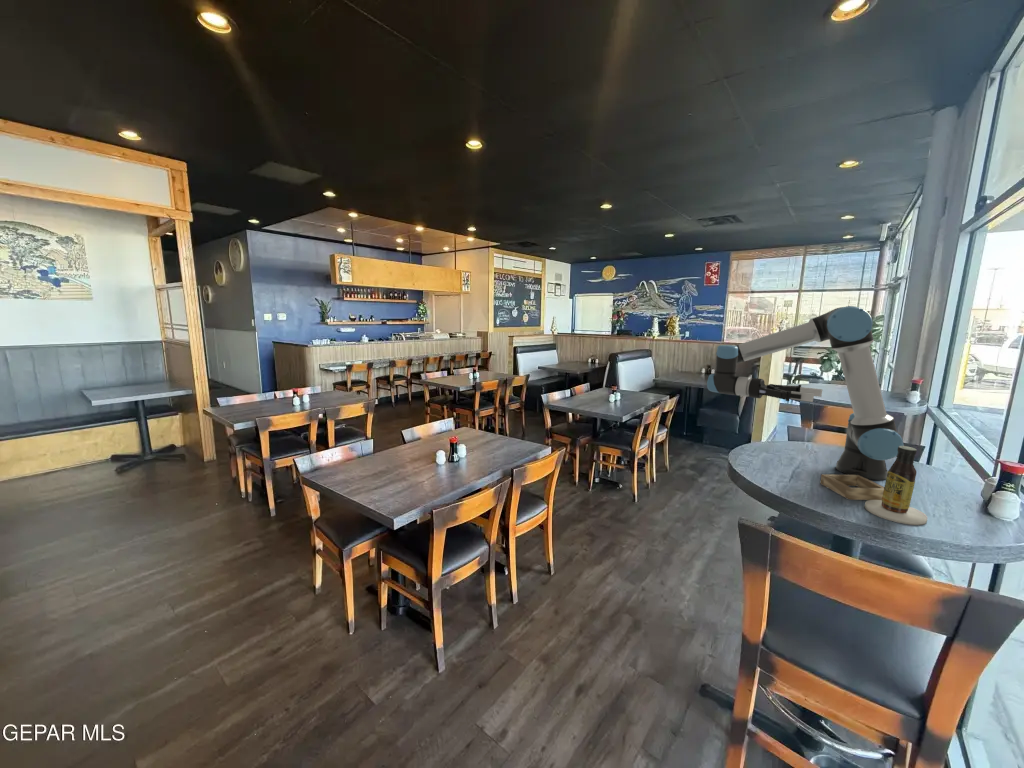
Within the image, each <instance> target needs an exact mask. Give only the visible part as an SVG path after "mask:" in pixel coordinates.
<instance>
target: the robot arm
mask: <svg viewBox="0 0 1024 768" xmlns="http://www.w3.org/2000/svg"><path fill="white" fill-rule="evenodd" d="M872 328H873V318H872V316H871V315H870V313H869V312H868V311H866V310H865V309H863V308H862V307H858V306H856V305H855V306H854V305H846V306H841V307H835V308H834V309H832V310H830V311H828V312H825V313H823V314H821V315H818V316H816V317H813V318H810V319H809V320H808V322H805V323H802V324H799V325H796V326H793V327H789V328H786V329H784V330H780V331H777V332H774V333H771V334H768V335H764V336H761V337H759V338H758V337H757V338H755V339H752V340H749V341H748V340H747V341H745V342H743V343H739V344H737V345H731V344H730V345H729V344H727V345H726V344H723V345H722V344H720V345H718V346H717V348H716V353H715V355H716V357H715V370H714V373H711V374H709V375H708V378H707V382H706V387H707V390H708V391H710V392H712V393H718V394H721V395H722V394H724V395H732V396H739V397H740V398H743V397H749V398H753V399H761V398H762V397H763V396H766V397H770V398H775V399H780V400H785V401H786V402H789V401H790V400H792V401H801V402H811V403H813V402H814V399H815V397H818V398H822V395H823V389H822V388H814V387H805V386H802V385H801V384H798V385H788V384H787V385H783V384H773V383H768V384H767V385H766V384H765V380H764V379H763V378H755V377H753V378H752V377H748V376H737V365H738V364H741V363H744V362H746V361H747V362H748V361H751V360H754V359H757V358H761V357H764V356H767V355H771V354H774V353H778V352H781V351H784V350H788V349H792V348H795V347H798V346H802V345H805V344H809V343H812V342H817V343H822V342H825V341H829V343H830V348H831V350H833V351H835V352H837V353H838V356H839V360H840V365H841V369H842V373H843V376H844V380H845V384H846V389H847V391H848V396H849V400H850V404H851V408H852V411H853V413H850V415H849V418H848V419H847V430H846V434H845V435H846V436H845V442H844V444H845V445H844V449H843V451H842V453H841V455H840V457H839V459H838V460H837V462H836V465H835V469H836V470H838V471H839V472H840V473H842V474H844V475H860V476H862V477H864V478H866V479H868V480H871V481H874V480H876V481H879V480H880V481H881V480H886V478H887V473H888V471H889V470H888V468H887V463H886V461H889V460H891V459H892V460H893V459H894V458H897V454H898V447H899V446H905V445H904V439H903V438H902V436H901V434H899V433H898V429H897V426H896V422H895V418H894V416H892V415H890V414H888V413H887V410H886V407H885V402H884V399H883V398H884V397H883V395H882V389H881V387H880V382H879V379H878V375H877V370H876V367H875V364H874V360H873V356H872V355H873V354H872V351H871V347H870V346H871V345H872V343H874V341H875V338H874V336H873V331H872Z"/></svg>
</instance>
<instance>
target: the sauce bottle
mask: <svg viewBox="0 0 1024 768" xmlns="http://www.w3.org/2000/svg"><path fill="white" fill-rule="evenodd" d="M917 453H918V452H917V449H916V448H915V447H912V446H911V447H910V446H906V445H903V446H899V447H898V454H897V456H896V457H895V460H894V461H893V463H892V465H891V466H890V467H889V469H888V470H887V471H888V473H887V478H886V479H885V484H884V486H883V487H884V492H883V497H882V506H883V507H884V508H885V509H887V510H890V511H893V512H896V513H906V512H907V511H908V509H909V507H911V503H912V497H913V492H914V488H915V484H916V477H917V471H918V470H917V469H916V467H915V465H914V463H915V462H914V461H915V457H916V455H917Z"/></svg>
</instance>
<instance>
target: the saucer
mask: <svg viewBox="0 0 1024 768" xmlns="http://www.w3.org/2000/svg"><path fill="white" fill-rule="evenodd" d="M864 508H865V510H866V511H868V512H869V513H870V514H872V515H874V516H876V517H878V518H881V519H884V520H887V521H889V522H890V521H891V522H894V523H898V524H902V525H903V524H904V525H910V526H923V525H926V524H927V522H928V516H927V514H925V513H924V512H922V511H921V510H919V509H917V508H914V507H912V506H909V509H908V511H907V512H906V513H896V512H893V511H890V510H887V509H885V508H884V507H883V506H882V500H865V503H864Z"/></svg>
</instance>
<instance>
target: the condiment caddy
mask: <svg viewBox="0 0 1024 768" xmlns="http://www.w3.org/2000/svg"><path fill="white" fill-rule="evenodd" d="M819 482H820V485H822V486H824V487H826V488H827V489H830V490H831V491H833V492H834V493H835V494H836V493H837V494H838V495H839V496H842V497H843V498H845V499H847V500H851V501H852V500H856V501H858V500H860V501H861V500H862V501H863V500H865V501H868V500H882V497H883V492H884V487H885V486H883V485H880V484H879V483H876V482H874V481H873V480H871V479H866V478H864V477H862V476H860V475H848V474H833V473H832V474H831V473H830V474H825V473H823V474H821V476H820V481H819ZM851 486H853V487H851Z"/></svg>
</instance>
